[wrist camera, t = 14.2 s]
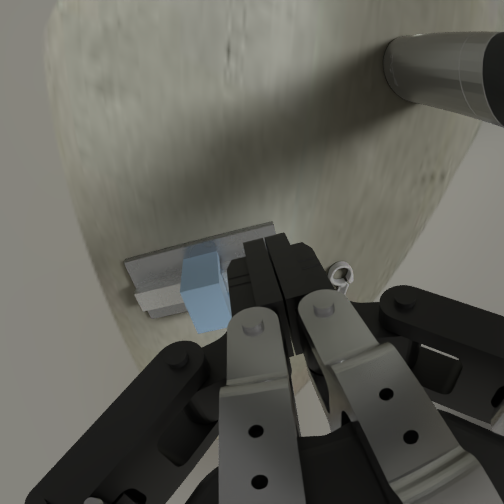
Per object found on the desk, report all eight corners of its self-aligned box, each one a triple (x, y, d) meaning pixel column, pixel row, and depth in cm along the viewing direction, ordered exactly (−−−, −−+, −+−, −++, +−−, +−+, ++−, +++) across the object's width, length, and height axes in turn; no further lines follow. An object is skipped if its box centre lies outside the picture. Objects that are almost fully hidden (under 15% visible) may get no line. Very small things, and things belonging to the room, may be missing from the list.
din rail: (272, 221, 41) (277, 233, 38) (284, 283, 46) (289, 298, 43) (125, 259, 41) (119, 273, 38) (152, 314, 46) (149, 330, 43)
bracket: (376, 269, 45) (340, 344, 52) (370, 263, 47) (336, 336, 54) (332, 264, 44) (300, 342, 51) (327, 257, 45) (297, 334, 52)
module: (216, 250, 41) (218, 283, 35) (229, 291, 44) (233, 325, 38) (183, 259, 41) (179, 292, 35) (198, 298, 44) (198, 333, 38)
